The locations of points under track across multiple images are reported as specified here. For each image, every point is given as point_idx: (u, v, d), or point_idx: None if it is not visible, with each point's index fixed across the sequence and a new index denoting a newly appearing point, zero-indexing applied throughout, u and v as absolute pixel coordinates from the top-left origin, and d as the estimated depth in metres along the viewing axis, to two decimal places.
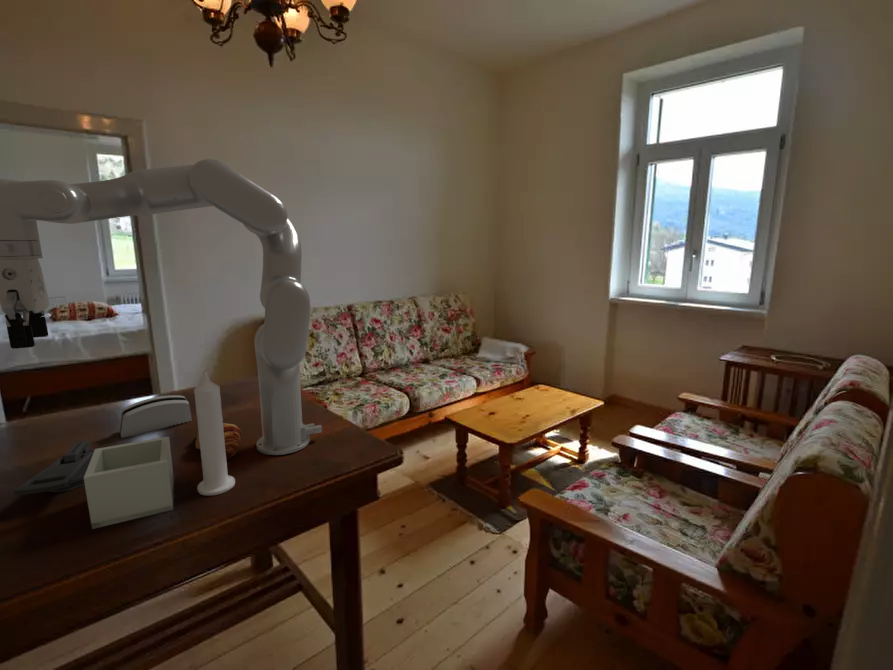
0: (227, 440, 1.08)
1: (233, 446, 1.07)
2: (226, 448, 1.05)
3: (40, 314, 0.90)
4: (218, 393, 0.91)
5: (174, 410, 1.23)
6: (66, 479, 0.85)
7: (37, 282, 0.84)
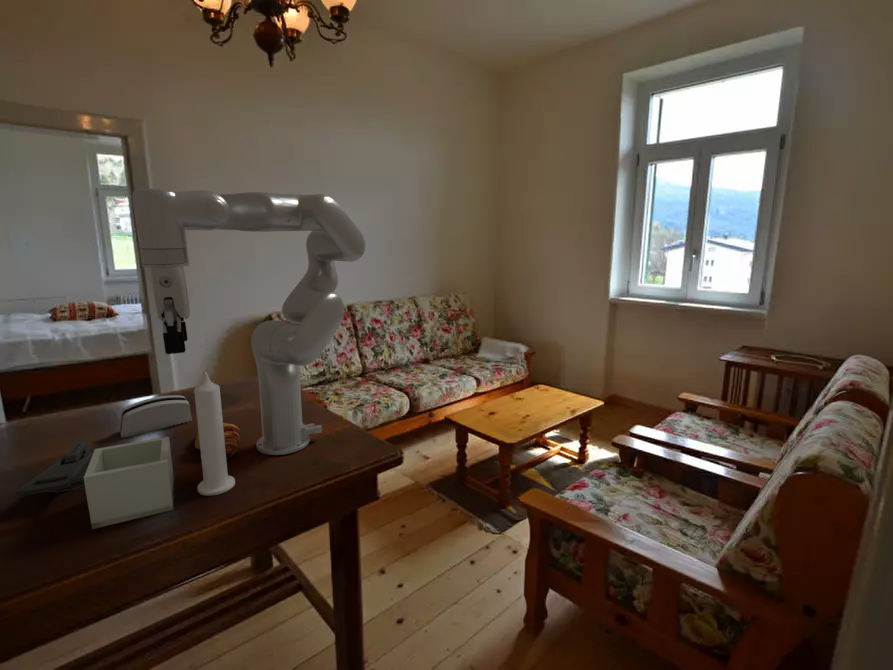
0: (226, 440, 1.07)
1: (232, 446, 1.07)
2: (225, 448, 1.05)
3: (181, 319, 0.92)
4: (218, 393, 0.91)
5: (174, 410, 1.23)
6: (68, 479, 0.85)
7: (186, 289, 0.86)
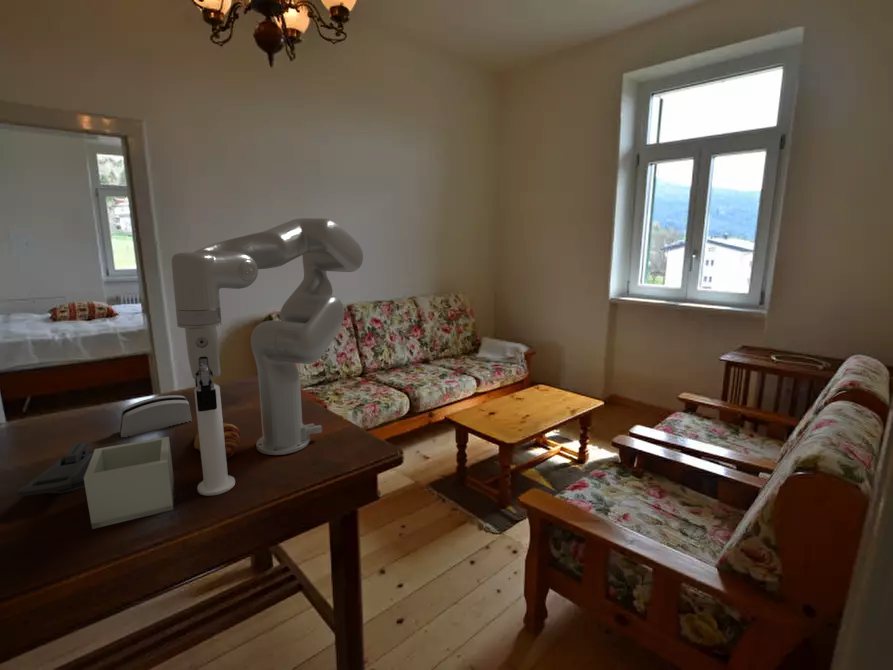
0: (225, 440, 1.07)
1: (231, 446, 1.07)
2: None
3: (209, 373, 0.94)
4: (218, 393, 0.91)
5: (174, 410, 1.23)
6: (69, 480, 0.85)
7: None
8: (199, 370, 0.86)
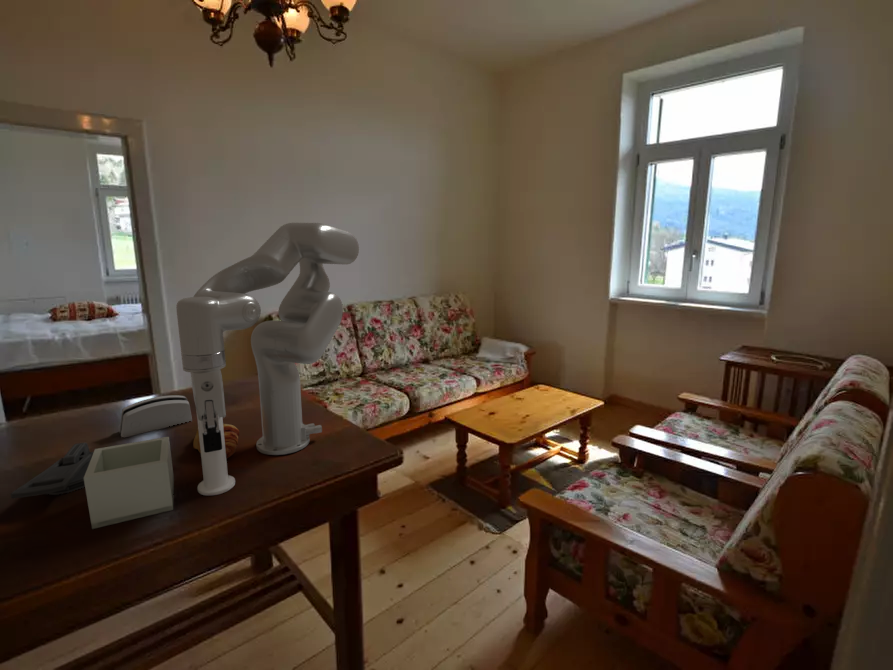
0: None
1: (230, 447, 1.06)
2: None
3: None
4: None
5: (174, 410, 1.23)
6: (64, 482, 0.84)
7: None
8: (205, 412, 0.88)
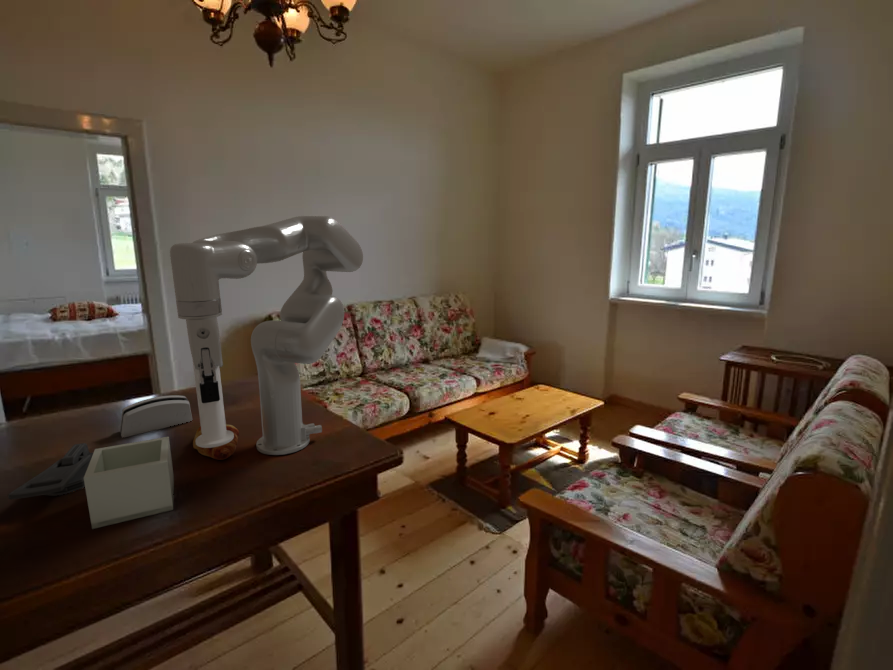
0: None
1: (229, 447, 1.06)
2: (221, 449, 1.05)
3: None
4: None
5: (175, 410, 1.23)
6: (62, 483, 0.84)
7: None
8: (201, 361, 0.86)
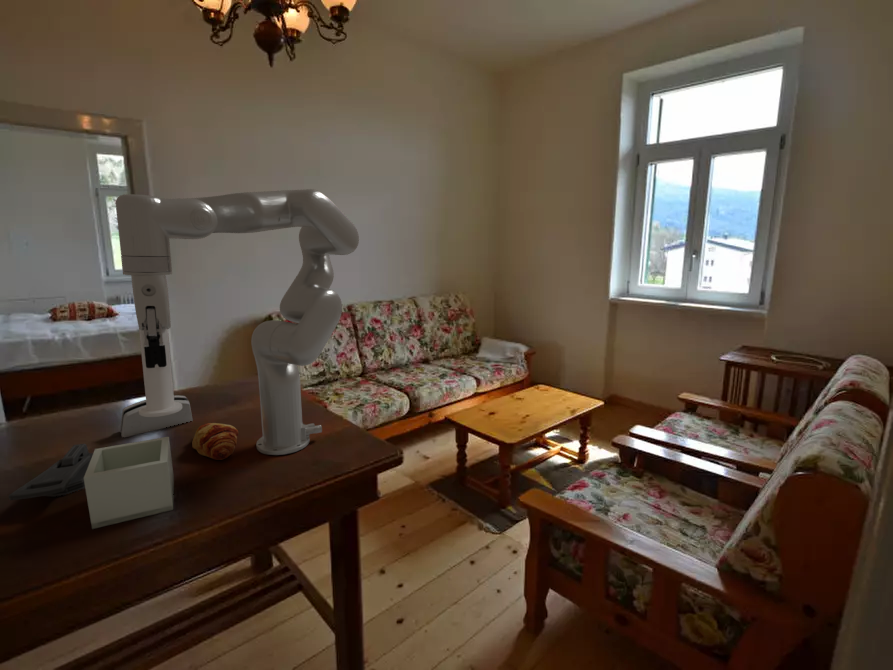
0: (222, 441, 1.07)
1: (228, 447, 1.06)
2: (220, 449, 1.05)
3: None
4: None
5: None
6: (63, 483, 0.84)
7: (168, 298, 0.83)
8: (146, 321, 0.81)
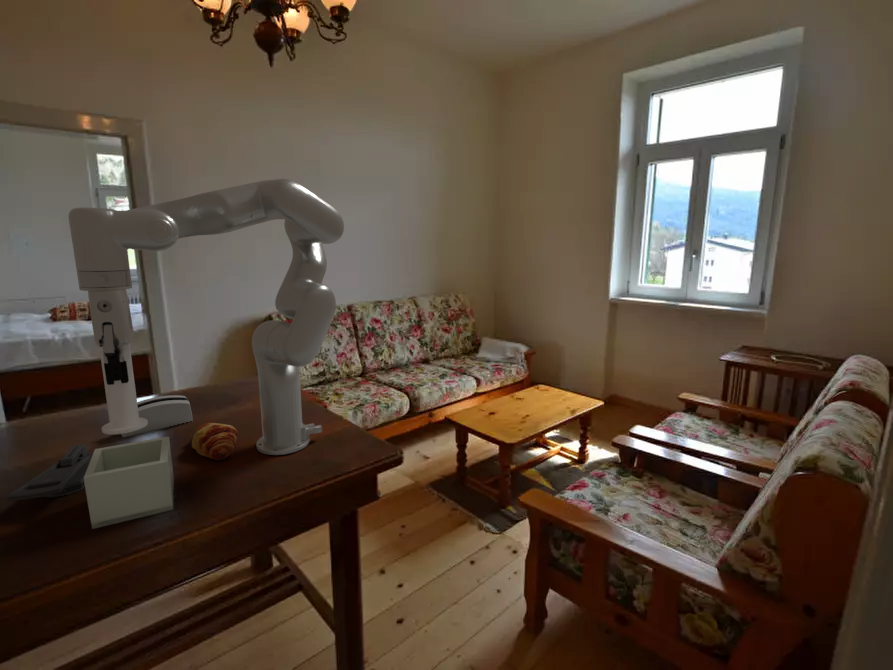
0: (221, 441, 1.07)
1: (227, 447, 1.06)
2: (219, 449, 1.04)
3: None
4: None
5: (175, 410, 1.23)
6: (61, 484, 0.83)
7: (128, 313, 0.81)
8: None
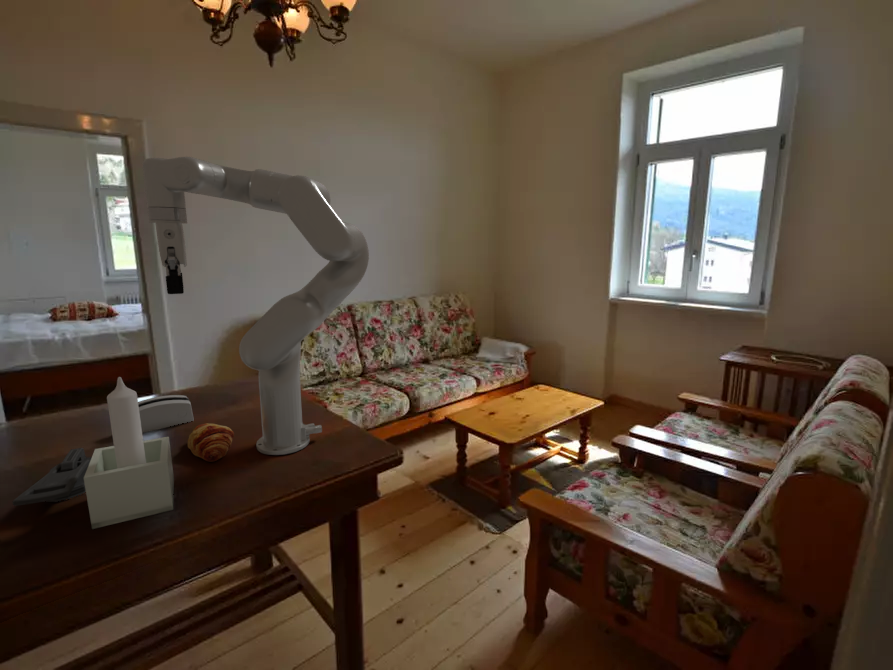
0: (214, 443, 1.06)
1: (219, 449, 1.05)
2: (211, 451, 1.04)
3: None
4: (134, 400, 0.83)
5: (176, 410, 1.23)
6: (68, 487, 0.82)
7: (184, 242, 1.05)
8: (168, 259, 1.02)
